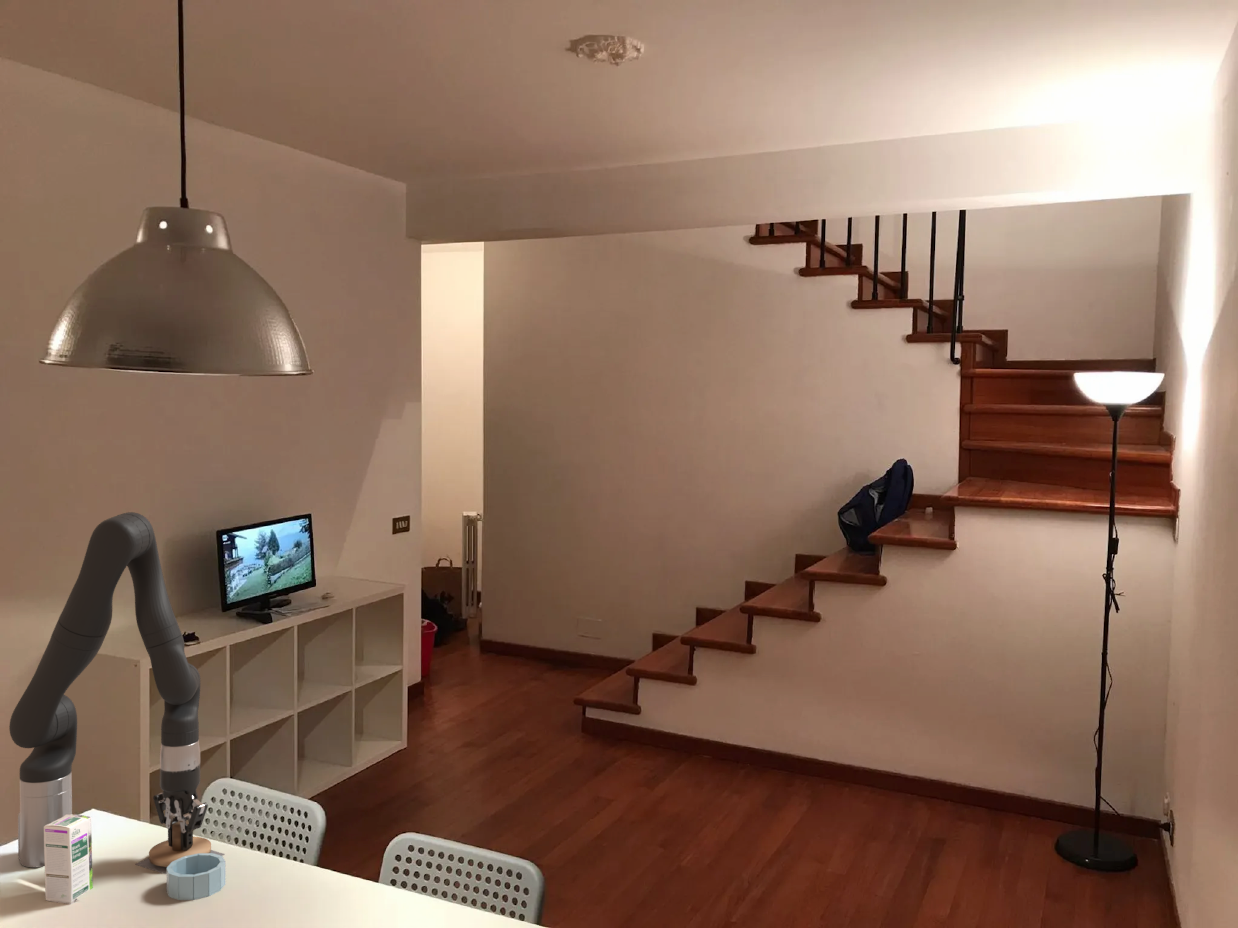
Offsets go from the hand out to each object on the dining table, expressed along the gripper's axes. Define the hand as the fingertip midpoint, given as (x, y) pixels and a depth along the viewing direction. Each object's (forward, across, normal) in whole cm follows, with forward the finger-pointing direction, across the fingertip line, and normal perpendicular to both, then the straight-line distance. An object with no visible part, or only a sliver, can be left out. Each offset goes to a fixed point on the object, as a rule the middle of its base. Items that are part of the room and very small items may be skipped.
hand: (180, 846), depth 204 cm
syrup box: (+3, -6, -20) cm, 21 cm away
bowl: (+3, +13, -7) cm, 15 cm away
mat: (+3, 0, 0) cm, 3 cm away
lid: (+3, 0, 0) cm, 3 cm away
